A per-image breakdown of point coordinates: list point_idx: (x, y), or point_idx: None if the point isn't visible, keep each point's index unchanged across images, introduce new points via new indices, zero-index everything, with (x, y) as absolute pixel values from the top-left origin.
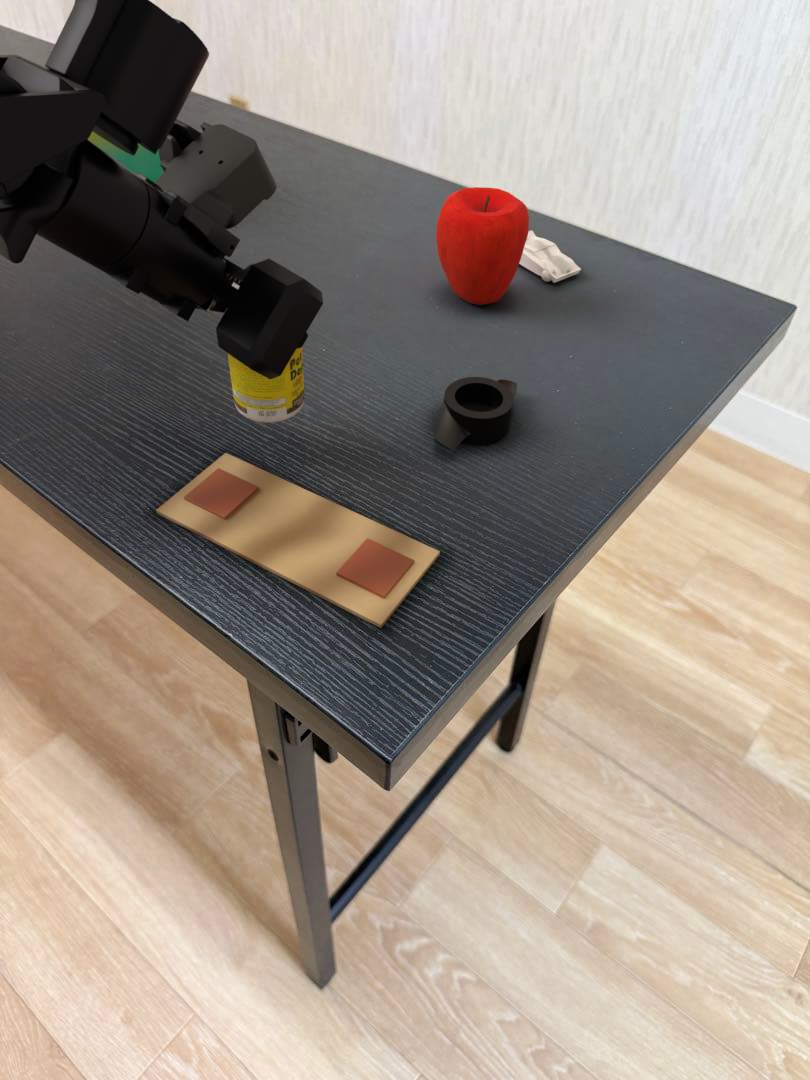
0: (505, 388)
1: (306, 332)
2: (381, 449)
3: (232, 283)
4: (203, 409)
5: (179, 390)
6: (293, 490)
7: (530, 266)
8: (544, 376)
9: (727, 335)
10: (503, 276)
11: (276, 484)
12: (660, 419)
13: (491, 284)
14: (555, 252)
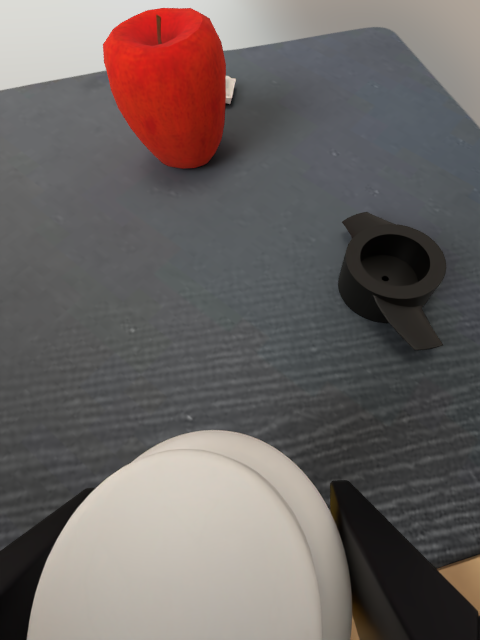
0: (395, 226)
1: (357, 490)
2: (358, 407)
3: (3, 616)
4: None
5: None
6: None
7: None
8: (347, 187)
9: (389, 61)
10: (223, 115)
11: (354, 624)
12: (473, 154)
13: (217, 131)
14: None
